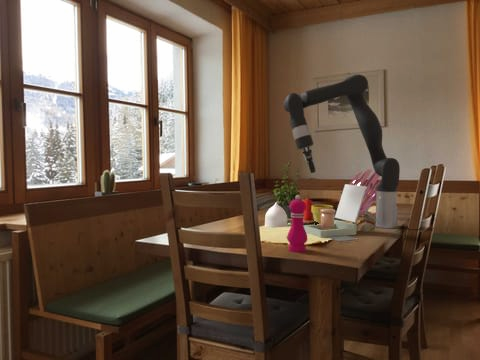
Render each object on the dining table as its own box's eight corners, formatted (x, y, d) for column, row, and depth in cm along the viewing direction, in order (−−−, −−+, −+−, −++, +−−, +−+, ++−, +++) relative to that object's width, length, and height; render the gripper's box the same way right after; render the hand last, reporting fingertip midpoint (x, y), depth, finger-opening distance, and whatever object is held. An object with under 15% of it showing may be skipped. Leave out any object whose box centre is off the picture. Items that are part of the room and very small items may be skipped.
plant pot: (332, 227, 200) (333, 207, 200) (310, 227, 202) (311, 206, 202) (332, 224, 211) (332, 204, 210) (311, 223, 213) (311, 204, 212)
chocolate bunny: (376, 233, 187) (377, 211, 186) (358, 232, 188) (358, 210, 187) (375, 231, 192) (376, 209, 191) (357, 230, 193) (358, 209, 193)
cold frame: (345, 229, 195) (346, 184, 194) (365, 235, 182) (366, 186, 181) (302, 233, 186) (302, 185, 184) (320, 239, 173) (321, 187, 172)
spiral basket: (409, 181, 242) (368, 154, 247) (406, 197, 218) (361, 167, 222) (379, 217, 255) (341, 190, 260) (374, 235, 230) (332, 206, 235)
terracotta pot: (329, 230, 188) (329, 208, 187) (337, 233, 182) (338, 210, 182) (317, 231, 185) (317, 209, 185) (325, 234, 180) (326, 210, 179)
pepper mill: (285, 247, 157) (286, 194, 155) (304, 247, 157) (305, 194, 156) (289, 252, 149) (290, 196, 148) (309, 252, 150) (310, 196, 149)
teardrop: (292, 226, 204) (292, 201, 203) (274, 228, 198) (274, 203, 197) (277, 223, 213) (277, 199, 212) (260, 225, 207) (260, 200, 206)
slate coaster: (344, 237, 177) (344, 235, 177) (358, 241, 169) (358, 239, 169) (326, 239, 173) (326, 236, 173) (339, 243, 165) (339, 240, 165)
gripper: (310, 131, 182) (321, 167, 180) (311, 137, 196) (321, 170, 194) (293, 136, 183) (304, 172, 181) (295, 142, 197) (305, 175, 195)
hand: (313, 171), depth 187 cm, fingers open, 8 cm apart
